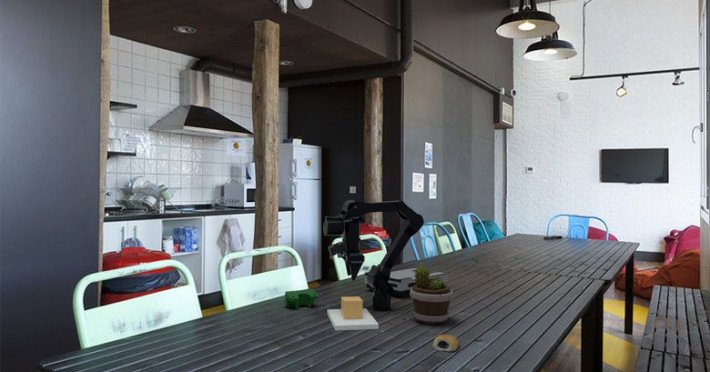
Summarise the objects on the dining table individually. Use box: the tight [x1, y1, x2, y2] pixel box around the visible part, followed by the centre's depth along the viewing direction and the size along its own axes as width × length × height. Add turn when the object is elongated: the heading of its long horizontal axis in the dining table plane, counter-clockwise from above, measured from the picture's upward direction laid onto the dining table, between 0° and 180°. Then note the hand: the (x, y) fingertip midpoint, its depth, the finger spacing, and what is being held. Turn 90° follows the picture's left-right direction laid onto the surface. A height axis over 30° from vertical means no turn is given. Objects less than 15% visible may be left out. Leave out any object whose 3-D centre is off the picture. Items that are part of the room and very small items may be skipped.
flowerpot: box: [409, 262, 454, 325], centre depth 170 cm, size 14×15×20 cm
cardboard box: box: [340, 295, 364, 319], centre depth 168 cm, size 6×6×6 cm
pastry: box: [431, 334, 460, 353], centre depth 143 cm, size 9×7×4 cm
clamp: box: [283, 288, 319, 310], centre depth 186 cm, size 12×6×9 cm, turn 112°
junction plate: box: [326, 308, 379, 332], centre depth 168 cm, size 14×20×6 cm
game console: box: [364, 267, 449, 299], centre depth 219 cm, size 21×32×8 cm, turn 134°
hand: (351, 277), depth 181 cm, fingers open, 9 cm apart
